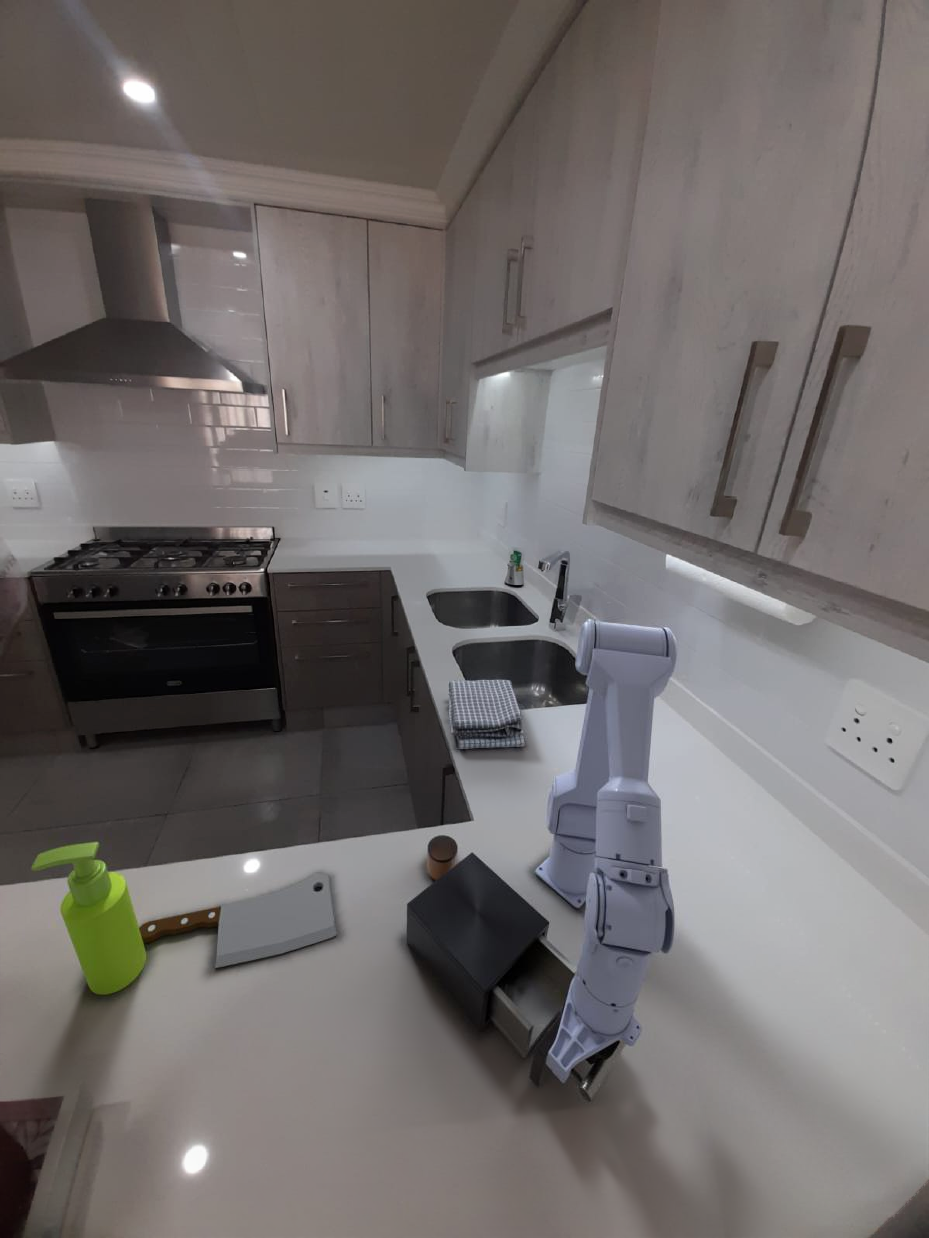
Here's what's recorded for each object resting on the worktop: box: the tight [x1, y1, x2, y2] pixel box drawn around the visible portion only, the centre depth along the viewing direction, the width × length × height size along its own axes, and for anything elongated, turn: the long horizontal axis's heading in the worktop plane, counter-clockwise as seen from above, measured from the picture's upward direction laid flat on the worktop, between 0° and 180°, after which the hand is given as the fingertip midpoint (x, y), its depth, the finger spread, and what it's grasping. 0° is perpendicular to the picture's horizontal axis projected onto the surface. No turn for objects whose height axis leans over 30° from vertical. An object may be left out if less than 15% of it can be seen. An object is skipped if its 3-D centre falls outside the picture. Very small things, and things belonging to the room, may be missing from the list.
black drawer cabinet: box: [406, 851, 550, 1033], centre depth 62 cm, size 14×12×8 cm
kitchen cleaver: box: [139, 871, 338, 969], centre depth 64 cm, size 24×1×10 cm
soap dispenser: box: [30, 841, 147, 996], centre depth 55 cm, size 6×7×20 cm
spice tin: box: [426, 834, 459, 881], centre depth 73 cm, size 4×4×4 cm
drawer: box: [486, 934, 627, 1103], centre depth 55 cm, size 17×10×6 cm, turn 44°
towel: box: [448, 679, 526, 750], centre depth 106 cm, size 15×18×8 cm
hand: (586, 1051), depth 51 cm, fingers closed, pressing on drawer
